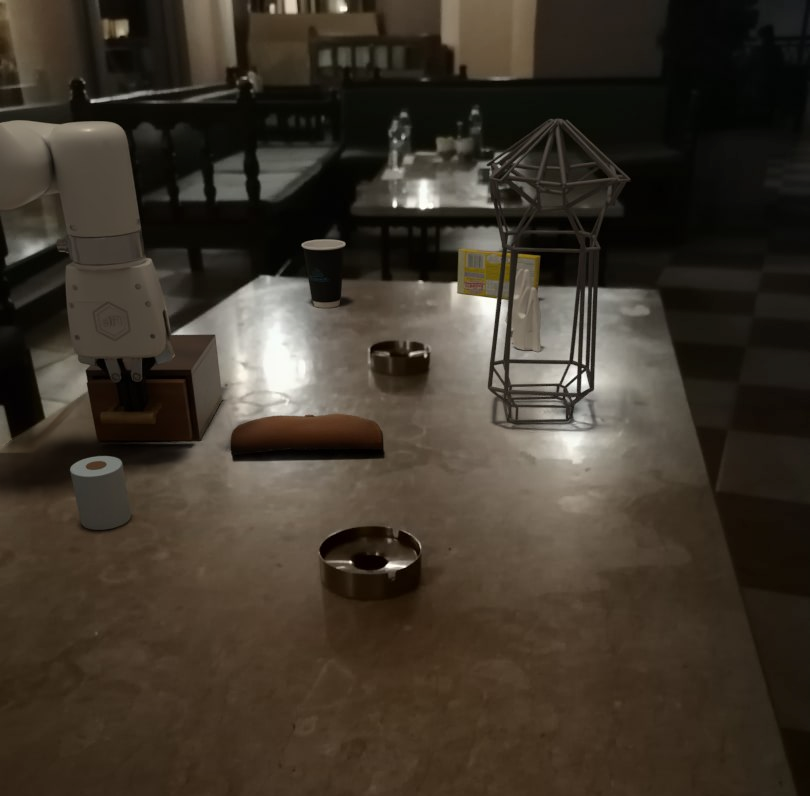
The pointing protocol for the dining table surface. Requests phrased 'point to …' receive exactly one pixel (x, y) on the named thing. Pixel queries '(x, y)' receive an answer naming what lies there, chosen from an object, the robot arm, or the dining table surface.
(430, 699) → the dining table surface
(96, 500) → the paper roll
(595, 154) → the geometric lantern
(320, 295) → the dixie cup
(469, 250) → the candy box
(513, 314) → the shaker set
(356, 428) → the sunglasses case
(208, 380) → the cabinet
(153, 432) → the drawer
